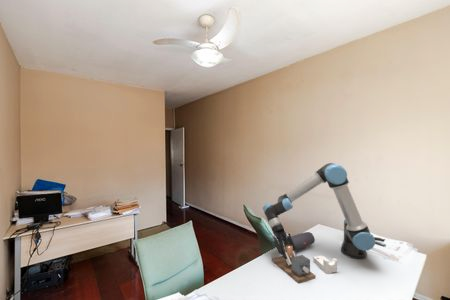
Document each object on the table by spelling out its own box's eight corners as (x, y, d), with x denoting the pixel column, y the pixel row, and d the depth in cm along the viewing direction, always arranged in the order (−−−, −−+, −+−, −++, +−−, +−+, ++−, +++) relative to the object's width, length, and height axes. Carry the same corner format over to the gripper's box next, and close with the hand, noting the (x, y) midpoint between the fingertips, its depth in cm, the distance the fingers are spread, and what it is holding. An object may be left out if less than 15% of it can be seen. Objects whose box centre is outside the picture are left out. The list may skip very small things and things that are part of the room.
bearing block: (291, 271, 119) (291, 257, 119) (302, 268, 122) (302, 254, 122) (298, 277, 114) (299, 263, 113) (310, 274, 117) (310, 259, 117)
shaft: (283, 262, 127) (283, 245, 127) (290, 260, 129) (290, 244, 129) (304, 278, 112) (304, 259, 112) (311, 276, 114) (311, 257, 114)
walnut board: (271, 260, 133) (271, 258, 133) (286, 257, 138) (286, 254, 138) (298, 283, 111) (298, 280, 111) (315, 277, 116) (315, 275, 116)
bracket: (337, 273, 120) (337, 260, 120) (326, 274, 119) (326, 261, 119) (323, 261, 133) (323, 249, 133) (313, 262, 132) (313, 250, 132)
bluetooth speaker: (293, 255, 140) (293, 240, 139) (283, 249, 148) (283, 235, 147) (315, 247, 151) (315, 233, 151) (304, 242, 159) (304, 229, 159)
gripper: (284, 226, 144) (301, 262, 129) (262, 230, 137) (278, 269, 122) (289, 221, 139) (308, 258, 124) (267, 225, 132) (284, 264, 117)
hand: (293, 263), depth 123 cm, fingers closed on shaft, 4 cm apart
